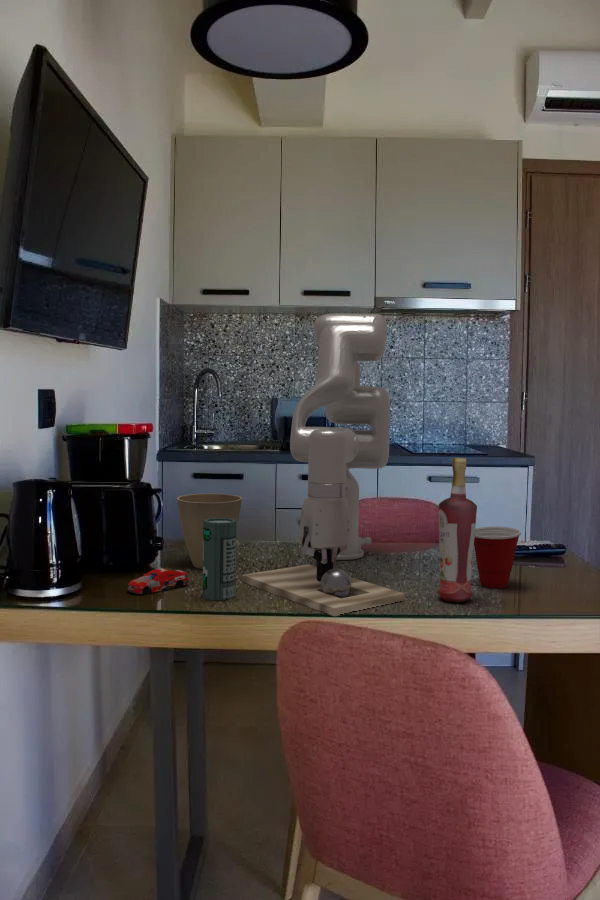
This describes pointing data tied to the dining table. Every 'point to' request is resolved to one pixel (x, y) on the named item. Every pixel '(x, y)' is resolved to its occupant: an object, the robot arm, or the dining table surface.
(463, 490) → the liquor
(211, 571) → the can
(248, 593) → the dining table surface
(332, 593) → the steel ball
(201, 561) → the plant pot
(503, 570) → the plastic cup
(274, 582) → the wooden recessed tray
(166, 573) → the race car
